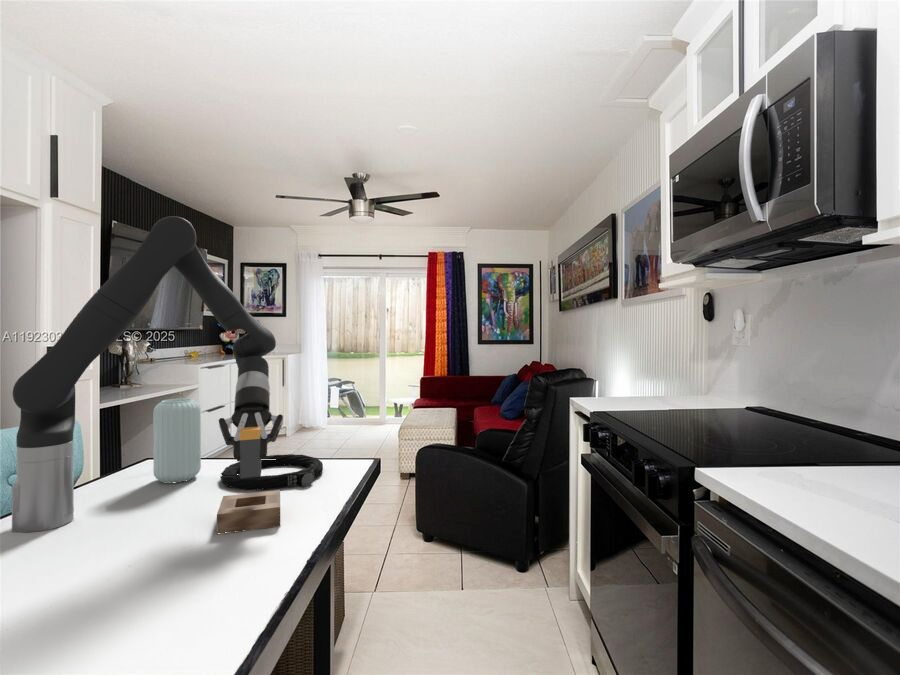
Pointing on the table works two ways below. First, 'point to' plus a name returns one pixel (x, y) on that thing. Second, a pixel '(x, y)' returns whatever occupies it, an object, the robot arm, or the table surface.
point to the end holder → (249, 511)
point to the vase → (176, 440)
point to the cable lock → (275, 481)
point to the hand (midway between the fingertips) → (250, 457)
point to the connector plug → (250, 452)
